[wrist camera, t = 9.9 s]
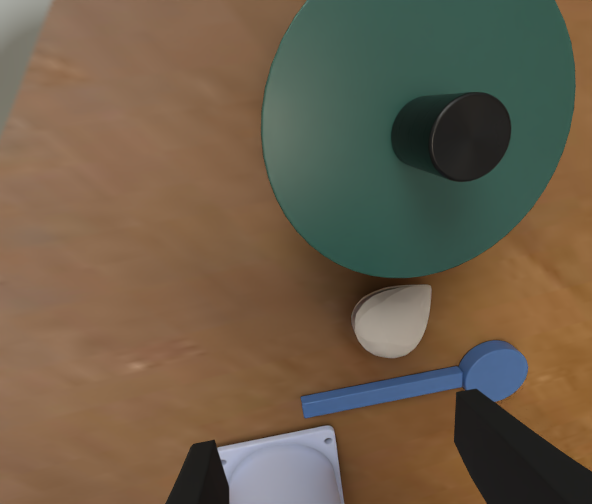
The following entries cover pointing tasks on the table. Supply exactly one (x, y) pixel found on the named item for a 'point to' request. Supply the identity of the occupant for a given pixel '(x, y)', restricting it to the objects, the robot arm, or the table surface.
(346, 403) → the blue spoon
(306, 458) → the robot arm
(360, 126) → the saucepan lid
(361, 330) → the cream teardrop shape
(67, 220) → the table surface
